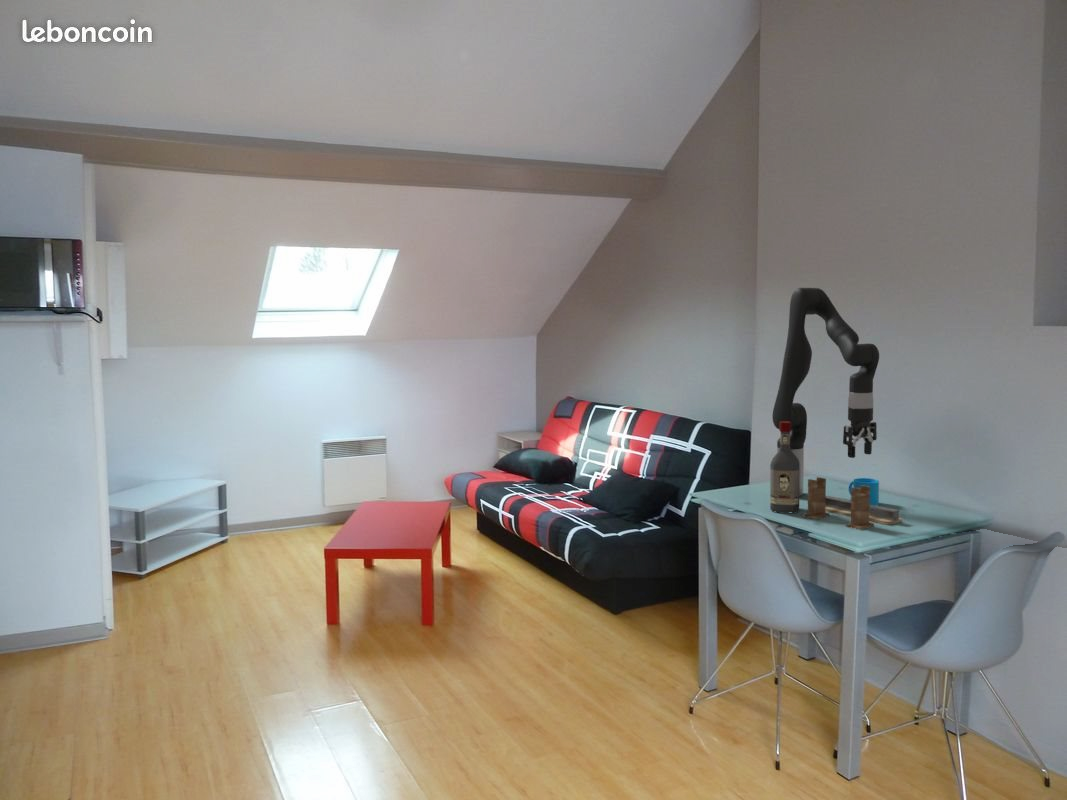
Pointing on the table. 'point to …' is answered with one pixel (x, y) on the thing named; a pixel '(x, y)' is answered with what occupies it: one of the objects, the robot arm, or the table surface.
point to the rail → (873, 509)
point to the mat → (872, 519)
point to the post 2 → (860, 507)
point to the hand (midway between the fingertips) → (859, 455)
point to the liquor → (784, 475)
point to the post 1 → (816, 498)
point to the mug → (871, 483)
